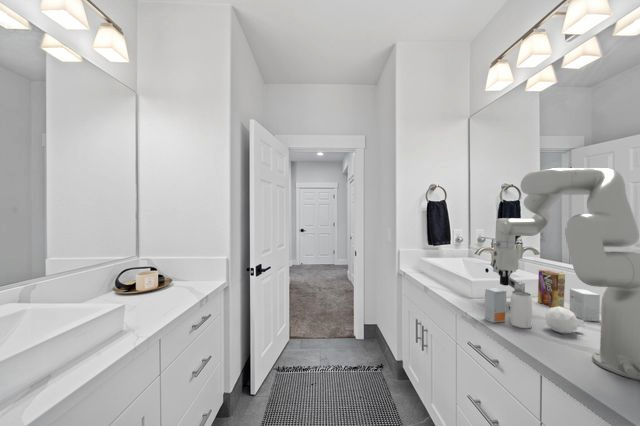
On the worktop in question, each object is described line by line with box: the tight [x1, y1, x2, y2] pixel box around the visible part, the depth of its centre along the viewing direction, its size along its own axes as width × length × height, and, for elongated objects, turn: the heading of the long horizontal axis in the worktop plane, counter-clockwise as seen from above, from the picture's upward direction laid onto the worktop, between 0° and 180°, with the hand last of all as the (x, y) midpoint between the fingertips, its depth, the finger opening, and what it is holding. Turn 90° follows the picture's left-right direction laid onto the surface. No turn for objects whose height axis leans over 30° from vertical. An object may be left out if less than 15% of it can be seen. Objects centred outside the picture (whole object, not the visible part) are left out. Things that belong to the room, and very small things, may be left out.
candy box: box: [537, 269, 566, 308], centre depth 126 cm, size 9×4×15 cm, turn 13°
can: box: [509, 290, 533, 330], centre depth 103 cm, size 6×6×12 cm
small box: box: [569, 288, 601, 322], centre depth 112 cm, size 8×6×10 cm
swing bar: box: [508, 276, 526, 292], centre depth 125 cm, size 4×16×4 cm, turn 164°
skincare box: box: [483, 287, 508, 324], centre depth 107 cm, size 6×4×12 cm
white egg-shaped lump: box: [544, 306, 585, 335], centre depth 98 cm, size 9×9×12 cm
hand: (504, 284), depth 128 cm, fingers closed
